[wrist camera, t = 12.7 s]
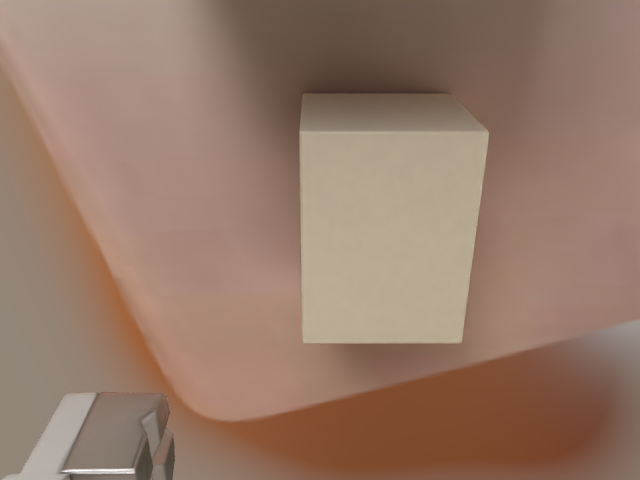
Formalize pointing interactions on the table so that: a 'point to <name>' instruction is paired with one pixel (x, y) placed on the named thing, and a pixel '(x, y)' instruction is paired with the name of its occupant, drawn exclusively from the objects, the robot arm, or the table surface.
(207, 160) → the table surface
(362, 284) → the cream box
